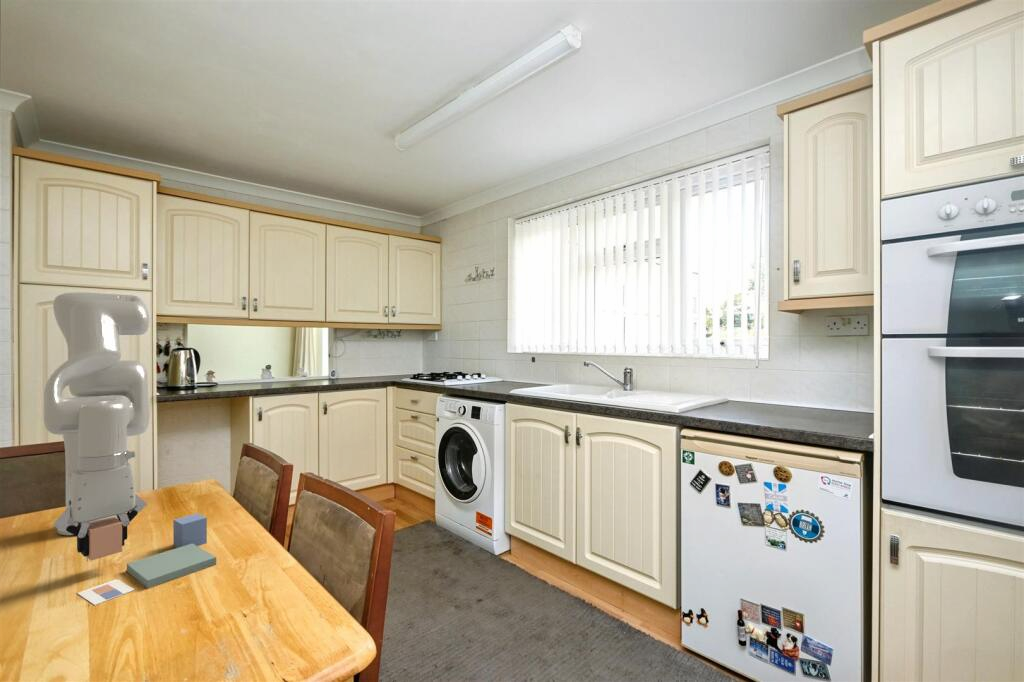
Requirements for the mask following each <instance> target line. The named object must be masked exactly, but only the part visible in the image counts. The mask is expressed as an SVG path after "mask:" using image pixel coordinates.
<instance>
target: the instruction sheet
mask: <svg viewBox="0 0 1024 682" xmlns="http://www.w3.org/2000/svg"><path fill="white" fill-rule="evenodd" d="M134 591H135V588H133V587H131V586H129V585H128V584H127V583H124V582H123V581H121V580H119V579H117V578H115V579H113V580H110V581H107V582H104V583H101V584H98V585H95V586H93V587H90V588H87V589H85V590H82V591H78V592H77V595H79V596H80V597H82V598H83V599H85V600H86V601H88V602H90V603H91V604H92V605H94V606H97V605H100V604H101V603H105V602H107V601H109V600H112V599H115V598H118V597H121V596H123V595H125V594H128V593H131V592H134Z"/></svg>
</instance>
